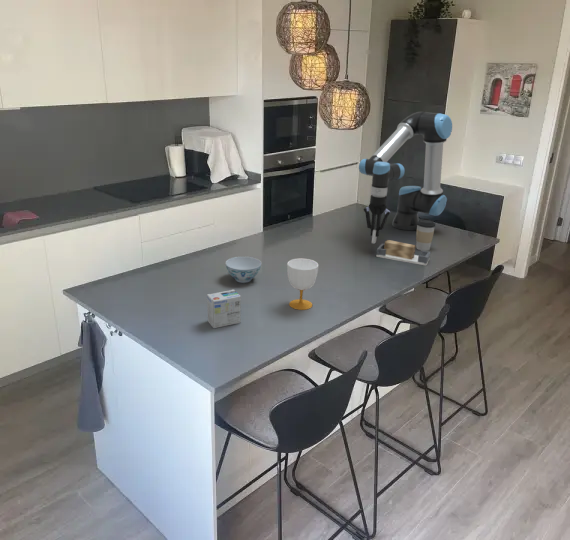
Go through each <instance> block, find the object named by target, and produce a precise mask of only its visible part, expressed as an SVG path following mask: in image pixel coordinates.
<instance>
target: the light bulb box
mask: <svg viewBox="0 0 570 540" xmlns="http://www.w3.org/2000/svg"><path fill="white" fill-rule="evenodd" d="M241 299H242V295H240V294H239V293H238V292H237V291H236V290H235V289H228V290H224V291H220V292H219V291H218V292H214V293H208V294H206V307H207V322H208V323H209V324H210V326H211V327H212V328H213V329H217V328H221V327H222V328H223V327H226V326H232V325H236V324H241V323H242V317H241V316H242V313H241V312H242V310H241V309H242V305H241V302H242V300H241Z"/></svg>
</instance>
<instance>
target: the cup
mask: <svg viewBox="0 0 570 540" xmlns="http://www.w3.org/2000/svg"><path fill="white" fill-rule="evenodd" d="M286 268H287V269H286V270H287V279H288V281H289V284H290V285H291V287H292V288H294V289H295V290H297V291H299V298H298V299H293V300H291V301H289V303H288V305H289V307H290V308H292V309H295V310H299V311H305V310H306V311H307V310H309V309H311V308H312V307H313V303H312V302H311V301H309V300H307V299H303V294H304V291H306V290H307V291H308V290H310V289H311V288H312V287H313V286H314V285H315V283H316V280H317V276H318V272H319V263H318V262H317V261H315V260H313V259H309V258H292V259H290V260H289V261H287V263H286Z"/></svg>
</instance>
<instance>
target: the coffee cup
mask: <svg viewBox="0 0 570 540" xmlns="http://www.w3.org/2000/svg"><path fill="white" fill-rule="evenodd" d="M435 227H436V222H434V220H432V219H429V218H427V217H425V218H423V219H419V221H418V222H417V230H416V234H415V235H416V236H415V238H416V239H415V241H416V242H415V245H416V247H415V250H418V251H427V252H428V251H431V246H432V242H433V238H434V233H435Z"/></svg>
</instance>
